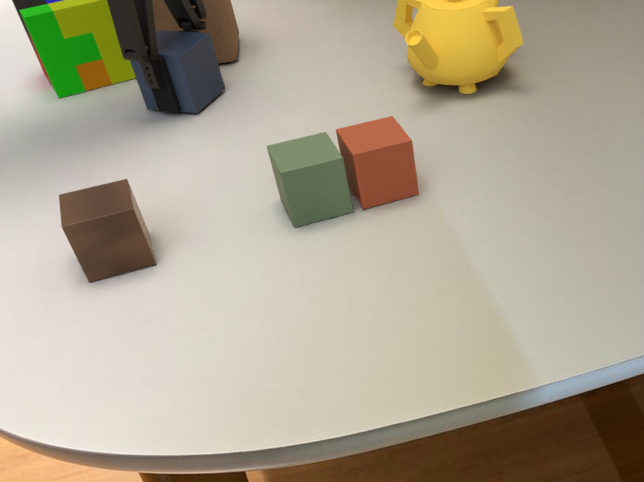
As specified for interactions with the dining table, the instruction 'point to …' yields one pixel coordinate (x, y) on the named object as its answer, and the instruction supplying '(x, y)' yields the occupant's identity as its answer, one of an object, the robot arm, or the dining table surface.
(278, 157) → the row block mid
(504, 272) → the dining table surface
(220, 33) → the wooden block
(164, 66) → the robot arm
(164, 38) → the slate blue cube
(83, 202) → the row block near
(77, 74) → the puzzle toy
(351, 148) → the row block far
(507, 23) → the teapot
